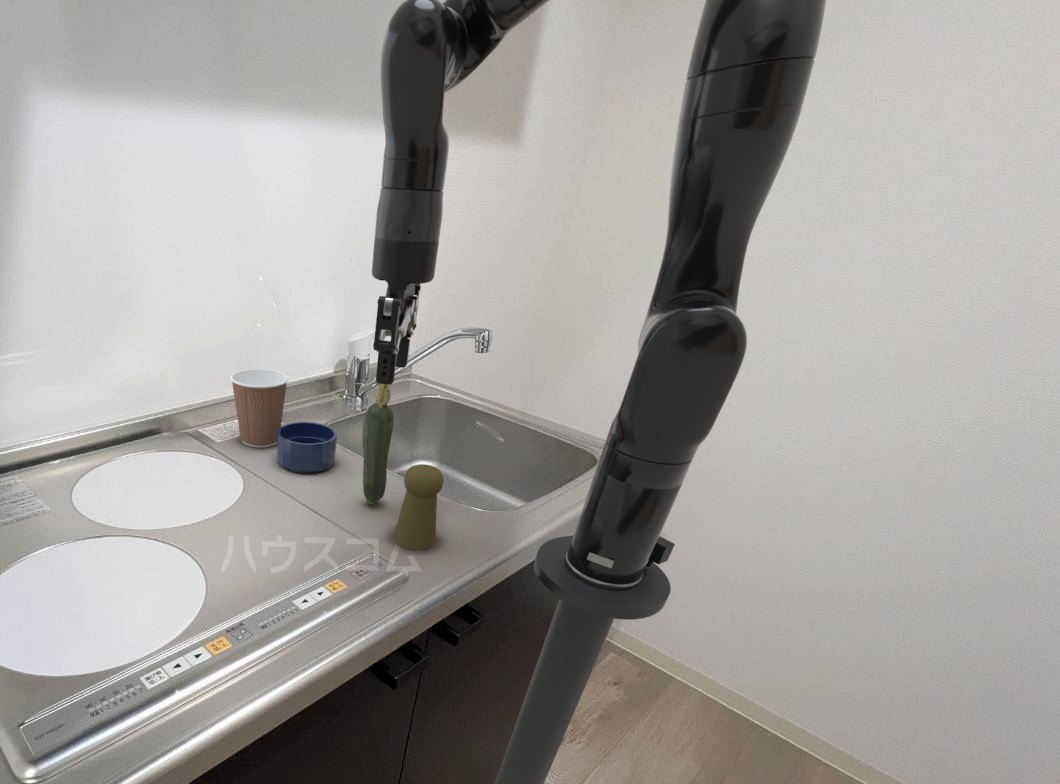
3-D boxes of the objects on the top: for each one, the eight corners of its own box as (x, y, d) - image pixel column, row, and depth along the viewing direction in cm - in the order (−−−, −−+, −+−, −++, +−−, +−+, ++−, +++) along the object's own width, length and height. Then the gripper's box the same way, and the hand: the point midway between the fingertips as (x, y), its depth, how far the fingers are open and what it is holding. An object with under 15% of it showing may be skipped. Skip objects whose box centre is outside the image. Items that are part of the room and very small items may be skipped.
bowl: (315, 446, 108) (316, 418, 105) (346, 468, 101) (348, 438, 98) (266, 456, 104) (266, 427, 101) (295, 479, 97) (295, 448, 94)
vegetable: (383, 513, 89) (399, 383, 77) (355, 511, 89) (367, 380, 78) (383, 499, 92) (398, 373, 81) (355, 497, 92) (367, 371, 81)
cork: (387, 543, 81) (397, 472, 75) (399, 524, 86) (409, 455, 80) (429, 554, 80) (442, 482, 73) (439, 533, 84) (453, 464, 78)
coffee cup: (296, 436, 112) (297, 374, 105) (272, 455, 104) (272, 389, 97) (249, 426, 115) (247, 365, 108) (222, 444, 107) (219, 379, 100)
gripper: (428, 242, 61) (409, 394, 70) (447, 233, 72) (428, 364, 81) (360, 237, 63) (349, 385, 72) (389, 228, 74) (377, 358, 83)
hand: (391, 374), depth 77 cm, fingers open, 8 cm apart
